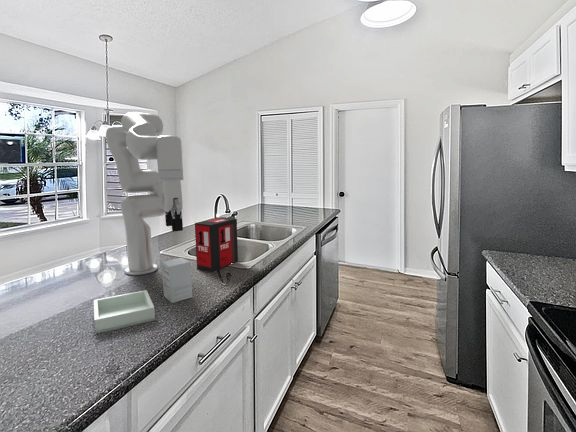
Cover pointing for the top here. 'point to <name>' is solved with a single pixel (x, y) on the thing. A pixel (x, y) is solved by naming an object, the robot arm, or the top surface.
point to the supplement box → (177, 279)
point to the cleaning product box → (216, 243)
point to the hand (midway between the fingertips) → (174, 228)
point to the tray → (123, 311)
